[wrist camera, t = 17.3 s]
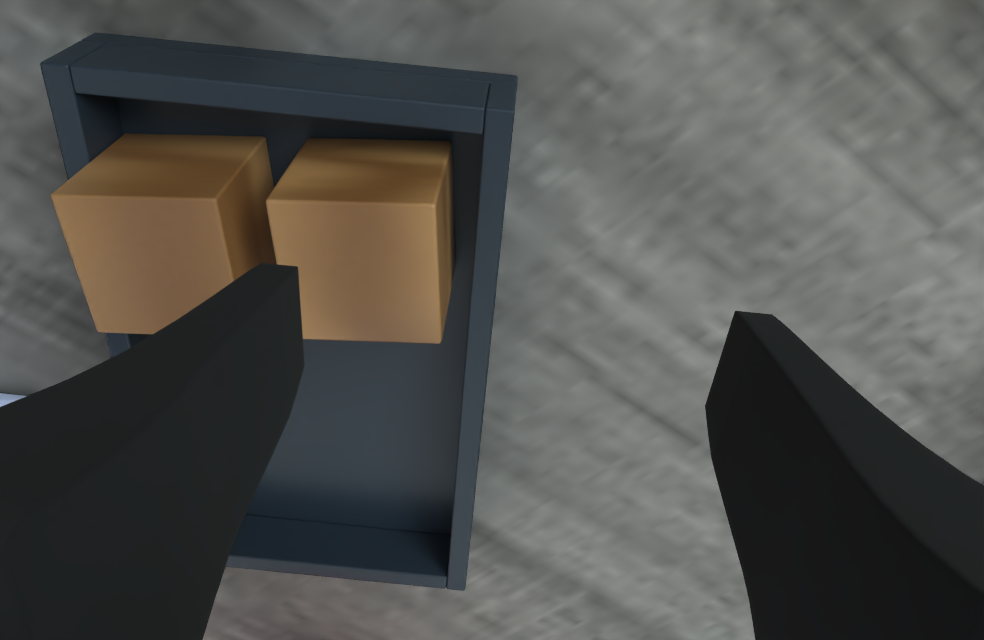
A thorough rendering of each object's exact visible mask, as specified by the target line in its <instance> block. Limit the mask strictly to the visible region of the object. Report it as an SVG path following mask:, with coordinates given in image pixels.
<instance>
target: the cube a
mask: <svg viewBox="0 0 984 640" xmlns="http://www.w3.org/2000/svg"><path fill="white" fill-rule="evenodd" d="M273 189H274V183H273V178H272V172H271V166H270V160H269V154H268V148H267V142H266V138H265V137H263V136H219V135H175V134H131V133H125V134H123V135H122V136H121V137H120V138H119V139H117V140H116V141H115V142H114V143H112V144H111V145H110V146H109V147H108V148H106V149H105V150H104V151H103V152H102V153H100V154H99V155H98V156H97V157H96V158H94V159H93V160H92V161H91V162H89V163H88V164H87V165H86V166H85V167H83V168H82V169H81V170H80V171H79V172H77V173H76V174H75V175H74V176H72V177H71V178H70V179H69V180H68V181H66V182H65V183H64V184H63V185H62V186H60V187H59V188H58V189H57V190H56V191H54V192H53V193H52V194H51V199H52V202H53V205H54V208H55V211H56V214H57V217H58V220H59V222H60V225H61V228H62V231H63V234H64V237H65V240H66V243H67V245H68V248H69V251H70V254H71V257H72V260H73V263H74V266H75V269H76V271H77V274H78V277H79V280H80V283H81V286H82V289H83V292H84V294H85V297H86V300H87V303H88V306H89V309H90V312H91V315H92V317H93V320H94V323H95V326H96V329H97V331H98V332H100V333H128V334H154V333H156V332H157V331H159V330H161V329H162V328H164V327H166V326H167V325H169V324H171V323H172V322H174V321H176V320H177V319H179V318H180V317H182V316H183V315H185V314H186V313H188V312H189V311H191V310H192V309H194V308H195V307H197V306H198V305H200V304H201V303H203V302H204V301H206V300H207V299H209V298H210V297H212V296H213V295H214V294H216V293H217V292H219V291H220V290H222V289H223V288H224V287H226V286H227V285H229V284H230V283H232V282H233V281H234V280H236V279H237V278H239V277H240V276H242V275H243V274H245V273H246V272H248V271H249V270H251V269H252V268H254V267H255V266H257V265H259V264H260V263H268V264H276V258H275V252H274V247H273V241H272V236H271V230H270V224H269V219H268V213H267V208H266V199H267V198H268V196H269V195H270V193H271V192H272V190H273Z"/></svg>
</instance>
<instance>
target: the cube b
mask: <svg viewBox="0 0 984 640" xmlns="http://www.w3.org/2000/svg"><path fill="white" fill-rule="evenodd" d="M266 208H267V213H268V219H269V224H270V230H271V236H272V241H273V247H274V252H275V258H276V264H278V265H288V266H298V273H299V288H300V303H301V318H302V333H303V339H312V340H341V341H370V342H399V343H428V344H439V343H441V341H442V337H443V331H444V326H445V321H446V315H447V310H448V305H449V299H450V294H451V288H452V283H453V278H454V272H455V267H456V258H455V223H454V189H453V154H452V143H451V141H431V140H386V139H341V138H308V139H307V140H306V141H305V143H304V144H303V146H302V147H301V149H300V150H299V152H298V153H297V155H296V156H295V158H294V159H293V161H292V162H291V164H290V165H289V167H288V168H287V170H286V171H285V173H284V174H283V175H282V177H281V178H280V180H279V181H278V183H277V184H276V186H275V187H274V189H273V190H272V192H271V193H270V195H269V196H268V198H267V199H266Z"/></svg>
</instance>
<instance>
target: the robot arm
mask: <svg viewBox="0 0 984 640" xmlns="http://www.w3.org/2000/svg"><path fill="white" fill-rule="evenodd" d="M304 366H305V364H304V349H303V333H302V318H301V303H300V288H299V273H298V266H288V265H278V264H268V263H260V264H259V265H257V266H255V267H254V268H252V269H251V270H249V271H248V272H246V273H245V274H243V275H242V276H240V277H239V278H237V279H236V280H234V281H233V282H232V283H230V284H229V285H227V286H226V287H224V288H223V289H222V290H220V291H219V292H217V293H216V294H214V295H213V296H212V297H210V298H209V299H207V300H206V301H204V302H203V303H201V304H200V305H198V306H197V307H195V308H194V309H192V310H191V311H189V312H188V313H186V314H185V315H183V316H182V317H180V318H179V319H177V320H176V321H174V322H172V323H171V324H169V325H167V326H166V327H164V328H162V329H161V330H159V331H157V332H156V333H154V334H152V335H151V336H149V337H147V338H146V339H144V340H143V341H141V342H139V343H138V344H136V345H134V346H133V347H131V348H129V349H127V350H126V351H124V352H122V353H120V354H118V355H116V356H114V357H113V358H111V359H109V360H107V361H105V362H103V363H101V364H99V365H97V366H95V367H93V368H91V369H89V370H86V371H84V372H82V373H80V374H78V375H76V376H74V377H72V378H70V379H68V380H65V381H63V382H61V383H59V384H56V385H54V386H51V387H49V388H46V389H44V390H41V391H39V392H36V393H34V394H31V395H29V396H22V395H12V394H2V393H0V640H202V639H203V636H204V633H205V629H206V626H207V623H208V620H209V616H210V613H211V610H212V606H213V603H214V600H215V597H216V594H217V591H218V588H219V585H220V582H221V579H222V576H223V572H224V569H225V566H226V563H227V560H228V557H229V554H230V551H231V548H232V545H233V543H234V540H235V538H236V535H237V533H238V530H239V528H240V525H241V523H242V521H243V519H244V516H245V514H246V512H247V510H248V508H249V505H250V503H251V501H252V499H253V497H254V494H255V492H256V490H257V488H258V486H259V483H260V481H261V479H262V477H263V475H264V473H265V470H266V468H267V466H268V464H269V462H270V459H271V457H272V455H273V453H274V451H275V448H276V446H277V444H278V442H279V439H280V437H281V435H282V433H283V430H284V428H285V426H286V424H287V421H288V419H289V417H290V414H291V411H292V407H293V404H294V401H295V398H296V394H297V391H298V387H299V384H300V380H301V377H302V373H303V369H304ZM705 409H706V418H707V427H708V436H709V443H710V450H711V458H712V462H713V466H714V470H715V473H716V477H717V481H718V485H719V488H720V492H721V496H722V499H723V503H724V507H725V510H726V514H727V517H728V521H729V524H730V528H731V532H732V535H733V539H734V542H735V546H736V550H737V553H738V557H739V560H740V564H741V567H742V571H743V575H744V579H745V584H746V588H747V592H748V597H749V602H750V608H751V614H752V621H753V627H754V633H755V639H756V640H984V486H983V485H981V484H979V483H978V482H976V481H975V480H973V479H972V478H970V477H969V476H967V475H965V474H964V473H962V472H961V471H959V470H958V469H957V468H955V467H954V466H952V465H951V464H949V463H948V462H947V461H945V460H944V459H942V458H941V457H939V456H938V455H936V454H935V453H934V452H932V451H931V450H929V449H928V448H926V447H925V446H924V445H922V444H921V443H920V442H918V441H917V440H916V439H914V438H913V437H912V436H910V435H909V434H908V433H906V432H905V431H904V430H903V429H901V428H900V427H899V426H898V425H896V424H895V423H894V422H893V421H891V420H890V419H889V418H888V417H887V416H885V415H884V414H883V413H882V412H880V411H879V410H878V409H877V408H875V407H874V406H873V405H872V404H871V403H870V402H868V401H867V400H866V399H865V398H864V397H863V396H862V395H860V394H859V393H858V392H857V391H856V390H855V389H854V388H852V387H851V386H850V385H849V384H848V383H847V382H846V381H845V380H844V379H842V378H841V377H840V376H839V375H838V374H837V373H836V372H835V371H834V370H833V369H832V368H830V367H829V366H828V365H827V364H826V363H825V362H824V361H823V360H822V359H821V358H820V357H819V356H818V355H817V354H815V353H814V352H813V351H812V350H811V349H810V348H809V347H808V346H807V345H806V344H805V343H804V342H803V341H802V340H801V339H800V338H798V337H797V336H796V335H795V334H794V333H793V332H792V331H791V330H790V329H789V328H788V327H786V326H785V325H784V324H783V323H782V322H781V321H780V320H778V319H777V318H776V317H775V316H773V315H771V314H761V313H751V312H741V311H735V313H734V316H733V319H732V323H731V326H730V329H729V332H728V335H727V338H726V342H725V345H724V348H723V351H722V354H721V357H720V361H719V364H718V367H717V370H716V373H715V376H714V380H713V383H712V386H711V389H710V392H709V396H708V399H707V402H706V405H705Z"/></svg>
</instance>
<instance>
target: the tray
mask: <svg viewBox="0 0 984 640" xmlns="http://www.w3.org/2000/svg"><path fill="white" fill-rule="evenodd" d="M40 65H41V70H42V74H43V78H44V82H45V86H46V90H47V94H48V98H49V103H50V107H51V111H52V115H53V119H54V123H55V127H56V131H57V136H58V140H59V144H60V148H61V152H62V156H63V160H64V164H65V169H66V173H67V177H68V180H69V179H70V178H71V177H72V176H74V175H75V174H76V173H77V172H79V171H80V170H81V169H82V168H83V167H85V166H86V165H87V164H88V163H89V162H91V161H92V160H93V159H94V158H96V157H97V156H98V155H99V154H100V153H102V152H103V151H104V150H105V149H106V148H108V147H109V146H110V145H111V144H112V143H114V142H115V141H116V140H117V139H119V138H120V137H121V136H122V135H123V134H125V133H131V134H175V135H219V136H263V137H265V138H266V142H267V148H268V154H269V160H270V166H271V172H272V178H273V183H274V187H275V186H276V184H277V183H278V181H279V180H280V178H281V177H282V175H283V174H284V173H285V171H286V170H287V168H288V167H289V165H290V164H291V162H292V161H293V159H294V158H295V156H296V155H297V153H298V152H299V150H300V149H301V147H302V146H303V144H304V143H305V141H306V140H307V139H308V138H341V139H386V140H431V141H451V143H452V154H453V189H454V223H455V258H456V267H455V272H454V278H453V283H452V288H451V294H450V299H449V305H448V310H447V315H446V321H445V326H444V331H443V337H442V341H441V343H439V344H428V343H399V342H370V341H341V340H312V339H303V349H304V364H305V366H304V369H303V373H302V377H301V380H300V384H299V387H298V391H297V394H296V398H295V401H294V404H293V407H292V411H291V414H290V417H289V419H288V421H287V424H286V426H285V428H284V430H283V433H282V435H281V437H280V439H279V442H278V444H277V446H276V448H275V451H274V453H273V455H272V457H271V459H270V462H269V464H268V466H267V468H266V470H265V473H264V475H263V477H262V479H261V481H260V483H259V486H258V488H257V490H256V492H255V494H254V497H253V499H252V501H251V503H250V505H249V508H248V510H247V512H246V514H245V516H244V519H243V521H242V523H241V525H240V528H239V530H238V533H237V535H236V538H235V540H234V543H233V545H232V548H231V551H230V554H229V557H228V560H227V563H226V566H225V567H235V568H245V569H255V570H265V571H275V572H285V573H295V574H305V575H315V576H325V577H335V578H344V579H354V580H364V581H374V582H384V583H394V584H404V585H414V586H424V587H434V588H446V587H447V589H452V590H462V591H464V590H465V586H466V576H467V567H468V557H469V547H470V538H471V528H472V518H473V509H474V499H475V489H476V479H477V470H478V460H479V450H480V441H481V431H482V421H483V412H484V402H485V392H486V383H487V373H488V363H489V354H490V344H491V334H492V325H493V315H494V305H495V296H496V286H497V276H498V267H499V257H500V247H501V238H502V228H503V218H504V208H505V199H506V189H507V179H508V170H509V160H510V150H511V141H512V131H513V121H514V112H515V101H516V90H517V80H518V78H517V76H515V75H506V74H496V73H486V72H476V71H466V70H457V69H447V68H437V67H427V66H417V65H407V64H398V63H388V62H378V61H368V60H358V59H349V58H339V57H329V56H319V55H309V54H300V53H290V52H280V51H270V50H260V49H250V48H241V47H231V46H221V45H211V44H201V43H192V42H182V41H172V40H162V39H152V38H142V37H133V36H123V35H113V34H103V33H94V34H92V35H90V36H88V37H86V38H84V39H83V40H82V41H79V42H77V43H76V44H74V45H72V46H70V47H68V48H66V49H65V50H63V51H61V52H59V53H57V54H55V55H54V56H52V57H50V58H48V59H46V60H45V61H43V62H41V64H40ZM151 335H152V334H128V333H106V338H107V342H108V346H109V350H110V354H111V358H113V357H114V356H116V355H118V354H120V353H122V352H124V351H126V350H127V349H129V348H131V347H133V346H134V345H136V344H138V343H139V342H141V341H143V340H144V339H146V338H147V337H149V336H151Z"/></svg>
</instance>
